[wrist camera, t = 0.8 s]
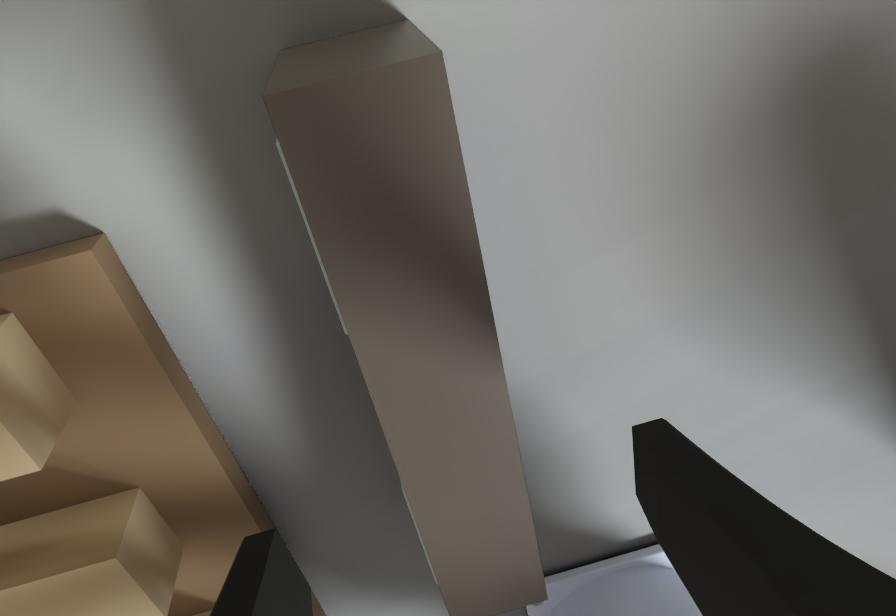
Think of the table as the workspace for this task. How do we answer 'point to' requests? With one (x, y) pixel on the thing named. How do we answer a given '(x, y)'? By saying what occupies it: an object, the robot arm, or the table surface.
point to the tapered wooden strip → (412, 296)
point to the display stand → (106, 451)
